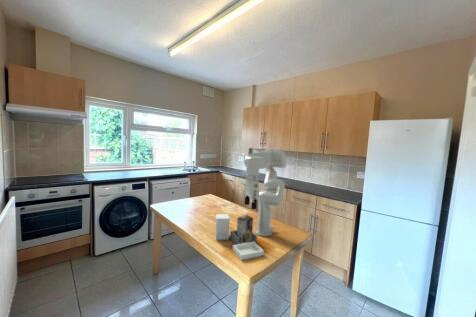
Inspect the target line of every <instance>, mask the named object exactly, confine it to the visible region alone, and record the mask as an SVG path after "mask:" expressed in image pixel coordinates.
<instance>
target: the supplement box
mask: <svg viewBox="0 0 476 317" xmlns="http://www.w3.org/2000/svg"><path fill="white" fill-rule="evenodd" d="M230 219H231V218H230V216H229V213H218V214H217V213H216V214H215V226H214V227H215V230H214V235H215V236H214V237H215V241H225V240H227V241H228V240H229V238H230Z"/></svg>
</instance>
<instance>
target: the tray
mask: <svg viewBox="0 0 476 317" xmlns="http://www.w3.org/2000/svg"><path fill="white" fill-rule="evenodd" d="M232 251H233V252H234V253H235V255H236V256H237V258H238V259H240V261H246V260H251V259H255V258H259V257H262V256H263V257H264V256H265V250H264V249H263V248H262V247H261V246H260V245H259V244H257V242H256V243H255V242H254V241H249V242H247V243H242V244H241V243H239V244H237V245H236V244H233V245H232Z"/></svg>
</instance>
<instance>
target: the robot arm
mask: <svg viewBox="0 0 476 317" xmlns="http://www.w3.org/2000/svg"><path fill="white" fill-rule="evenodd" d="M243 163H244V166H245V167H246V170H245V173H246V174H245V184H244V189H243V194H244V205H245V206H247V205H248V206H249V205H250V200H251V201H252V202H251V208H250V209H251V210H257V208H258V210H257V211H258V213H257V214H258V216H257V228H255V230H254V232H255V233H254V234H255V235H257V236H258V235H259V236H262V237H269V236H271V235H273V230H276V226H272V225H271V221H272V207H271V206H275V207H280V206H281V205H282V202H283V197H284V193H285V186H286V185H285V181H284V180H283V179H280V178H279V179H278V177H277V176H278V174H277V171H276V170H275V168H279V169H280V168H285V167H286V166H287V164H288V163H287V157H286V154H285V151H284V150H283V149H281V148H270V147H269V148H267V149H264V150H263V151H259V152H258V151H257V152H254V153H250V154H247V155H246V156H245V158H244V160H243ZM264 169H265V177H264V180H263V181H264V182H263V185H262V186H263V189H264V190H261V191H260V182H259V178H260V177H259V176H260V170H264ZM257 205H258V207H257Z"/></svg>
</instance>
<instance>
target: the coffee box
mask: <svg viewBox="0 0 476 317" xmlns="http://www.w3.org/2000/svg"><path fill="white" fill-rule="evenodd" d="M253 223H254V217H252V216H250V215H247V214H245V215H243V216H240V217H237V225H236V226H237V227H236V230H237V237H238V238H239V244H242V243H247V242H252V232H253V228H254V227H253V225H254V224H253Z"/></svg>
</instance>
